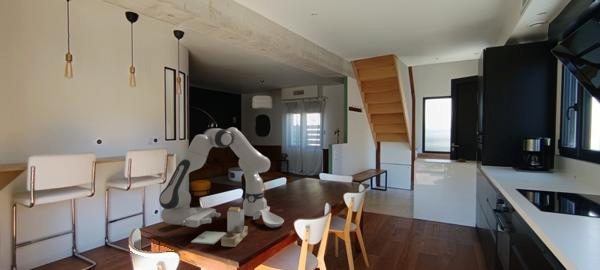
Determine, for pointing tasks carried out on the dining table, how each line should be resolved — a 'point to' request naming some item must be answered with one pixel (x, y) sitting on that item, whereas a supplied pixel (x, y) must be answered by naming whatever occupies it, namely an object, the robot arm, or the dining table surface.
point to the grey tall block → (235, 219)
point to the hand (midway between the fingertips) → (215, 218)
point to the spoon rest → (269, 218)
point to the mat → (208, 237)
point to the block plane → (233, 237)
